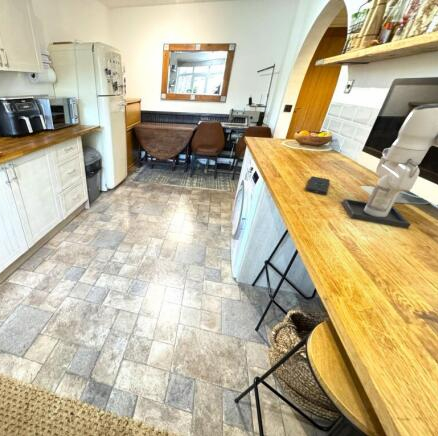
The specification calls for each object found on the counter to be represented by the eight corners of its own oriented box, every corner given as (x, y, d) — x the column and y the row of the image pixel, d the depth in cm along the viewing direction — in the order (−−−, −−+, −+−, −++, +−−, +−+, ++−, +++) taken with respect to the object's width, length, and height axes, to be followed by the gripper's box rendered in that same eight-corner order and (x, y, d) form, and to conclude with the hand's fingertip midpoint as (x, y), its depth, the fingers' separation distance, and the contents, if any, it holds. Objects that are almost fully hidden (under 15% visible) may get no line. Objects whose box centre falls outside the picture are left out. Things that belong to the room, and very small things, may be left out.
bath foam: (372, 208, 96) (397, 159, 86) (391, 216, 90) (420, 164, 80) (358, 210, 94) (382, 160, 85) (377, 219, 89) (405, 166, 79)
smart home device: (306, 187, 111) (311, 175, 125) (305, 190, 112) (310, 178, 126) (327, 191, 107) (330, 179, 121) (326, 195, 108) (328, 182, 122)
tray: (391, 210, 96) (393, 206, 95) (407, 228, 84) (411, 223, 83) (341, 202, 101) (343, 198, 100) (351, 218, 90) (353, 213, 89)
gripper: (433, 165, 72) (407, 206, 79) (403, 150, 88) (384, 185, 95) (406, 163, 74) (383, 202, 81) (382, 148, 90) (364, 182, 97)
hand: (383, 193), depth 88 cm, fingers closed on bath foam, 7 cm apart
